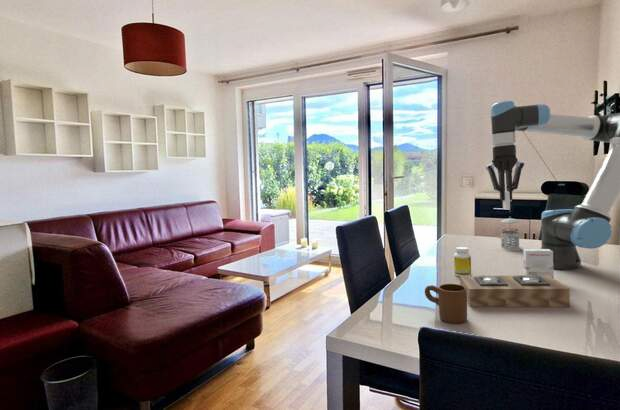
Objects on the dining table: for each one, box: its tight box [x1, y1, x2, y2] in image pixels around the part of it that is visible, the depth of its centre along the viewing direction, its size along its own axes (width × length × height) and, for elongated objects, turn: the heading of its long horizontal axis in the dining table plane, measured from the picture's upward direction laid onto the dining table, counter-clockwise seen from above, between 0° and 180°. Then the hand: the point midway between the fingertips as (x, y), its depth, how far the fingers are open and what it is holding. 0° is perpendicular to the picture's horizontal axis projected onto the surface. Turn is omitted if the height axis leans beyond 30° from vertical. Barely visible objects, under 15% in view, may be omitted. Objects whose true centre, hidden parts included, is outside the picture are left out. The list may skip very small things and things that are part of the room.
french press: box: [495, 199, 522, 252], centre depth 185 cm, size 10×12×25 cm
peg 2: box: [523, 277, 539, 282], centre depth 119 cm, size 4×4×6 cm
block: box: [459, 274, 571, 308], centre depth 120 cm, size 28×14×6 cm, turn 79°
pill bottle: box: [453, 246, 472, 278], centre depth 148 cm, size 6×6×11 cm
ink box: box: [522, 248, 555, 279], centre depth 134 cm, size 9×5×12 cm, turn 71°
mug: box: [424, 283, 468, 325], centre depth 108 cm, size 12×8×9 cm, turn 51°
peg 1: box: [483, 277, 498, 283], centre depth 121 cm, size 4×4×6 cm
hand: (506, 209), depth 138 cm, fingers closed
